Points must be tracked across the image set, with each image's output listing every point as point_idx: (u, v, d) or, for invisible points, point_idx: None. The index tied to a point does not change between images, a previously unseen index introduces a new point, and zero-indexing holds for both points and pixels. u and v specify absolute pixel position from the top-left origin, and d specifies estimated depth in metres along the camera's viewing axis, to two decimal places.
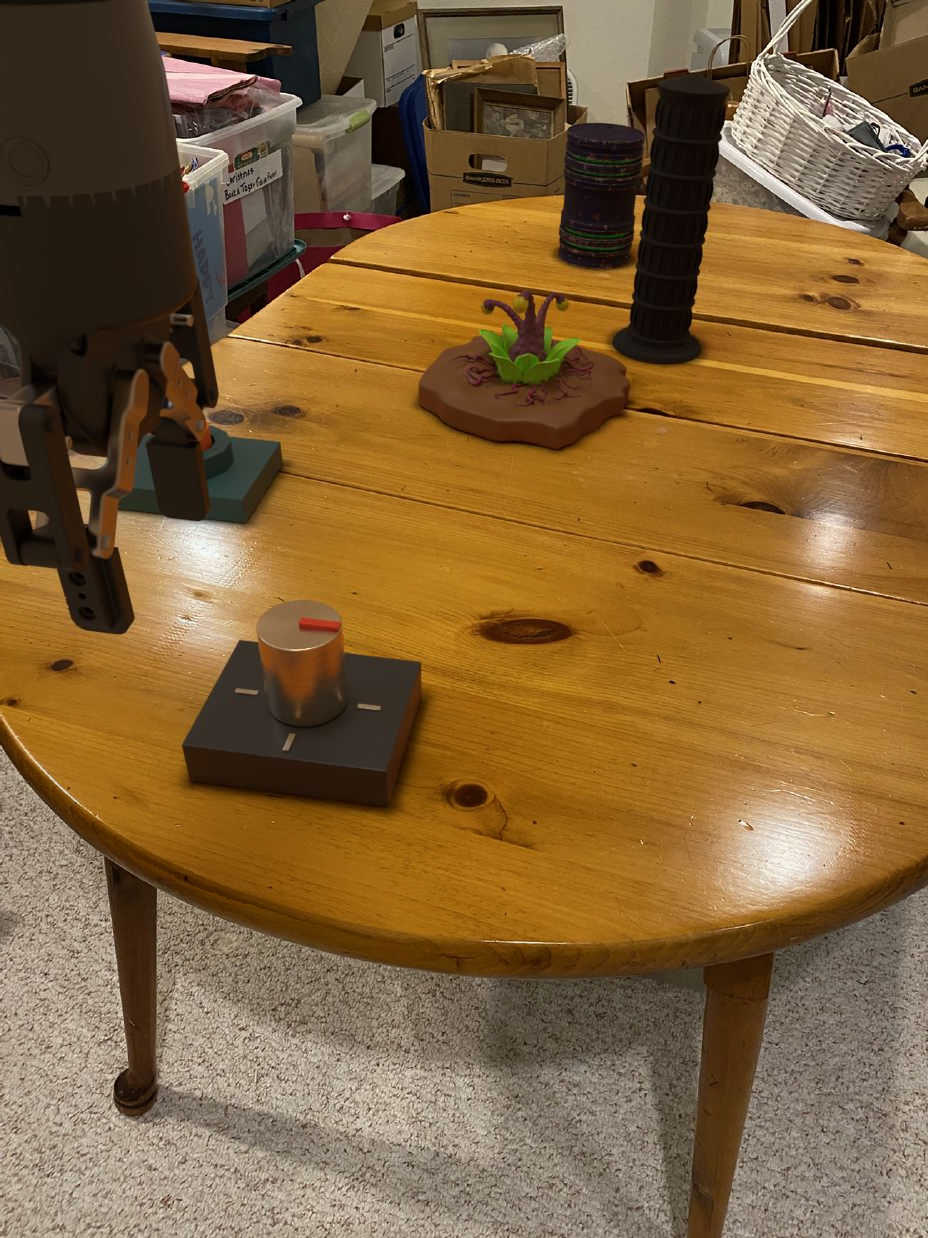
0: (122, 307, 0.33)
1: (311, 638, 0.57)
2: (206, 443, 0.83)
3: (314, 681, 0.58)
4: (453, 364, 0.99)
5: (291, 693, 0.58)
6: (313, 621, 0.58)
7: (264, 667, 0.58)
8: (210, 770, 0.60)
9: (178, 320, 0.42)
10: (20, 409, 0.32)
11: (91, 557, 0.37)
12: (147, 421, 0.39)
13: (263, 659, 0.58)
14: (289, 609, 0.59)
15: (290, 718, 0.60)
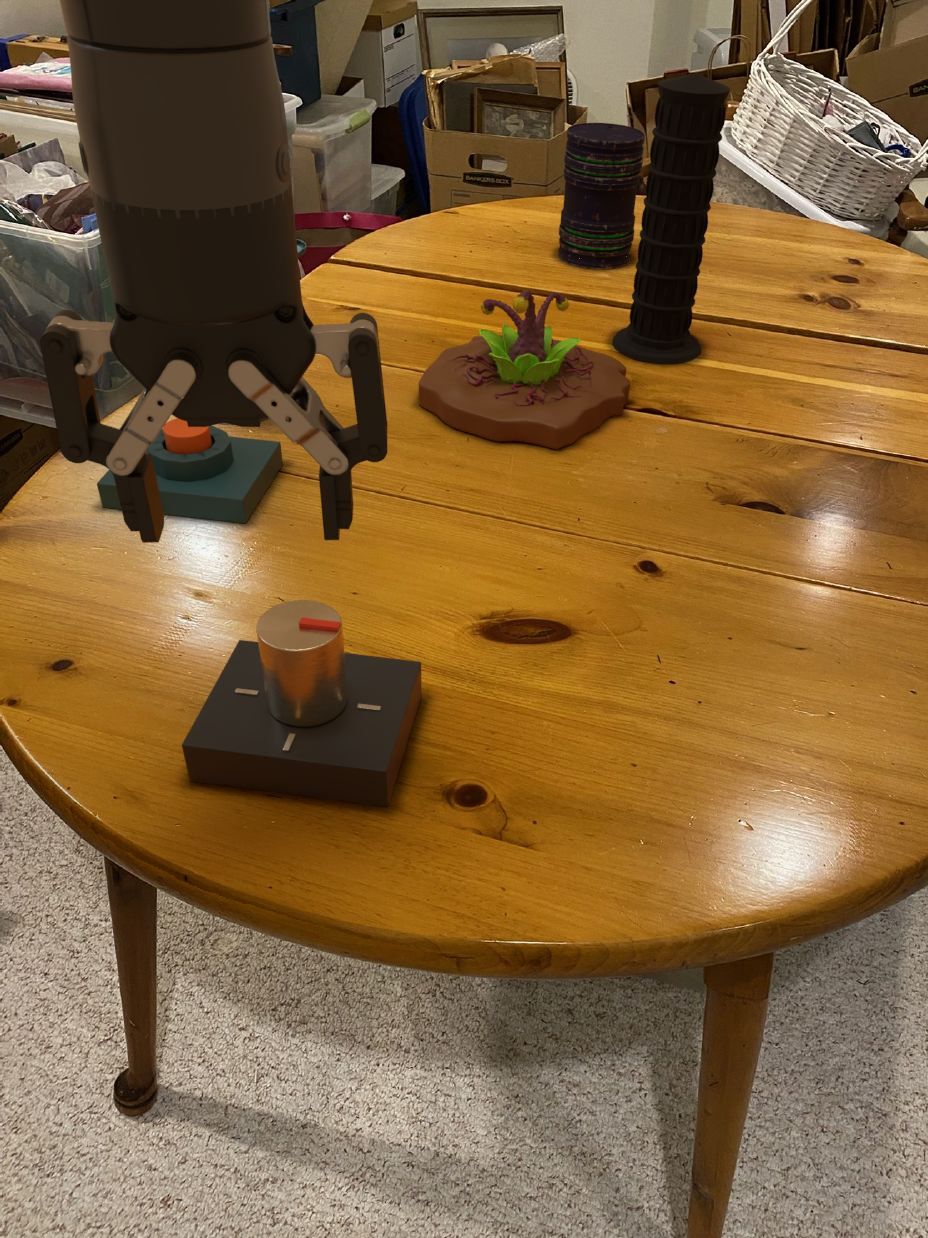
0: (124, 295, 0.39)
1: (311, 638, 0.57)
2: (206, 443, 0.83)
3: (314, 681, 0.58)
4: (453, 364, 0.99)
5: (291, 693, 0.58)
6: (313, 621, 0.58)
7: (264, 667, 0.58)
8: (210, 770, 0.60)
9: (340, 366, 0.44)
10: (50, 325, 0.42)
11: None
12: (227, 413, 0.45)
13: (263, 659, 0.58)
14: (289, 609, 0.59)
15: (290, 718, 0.60)
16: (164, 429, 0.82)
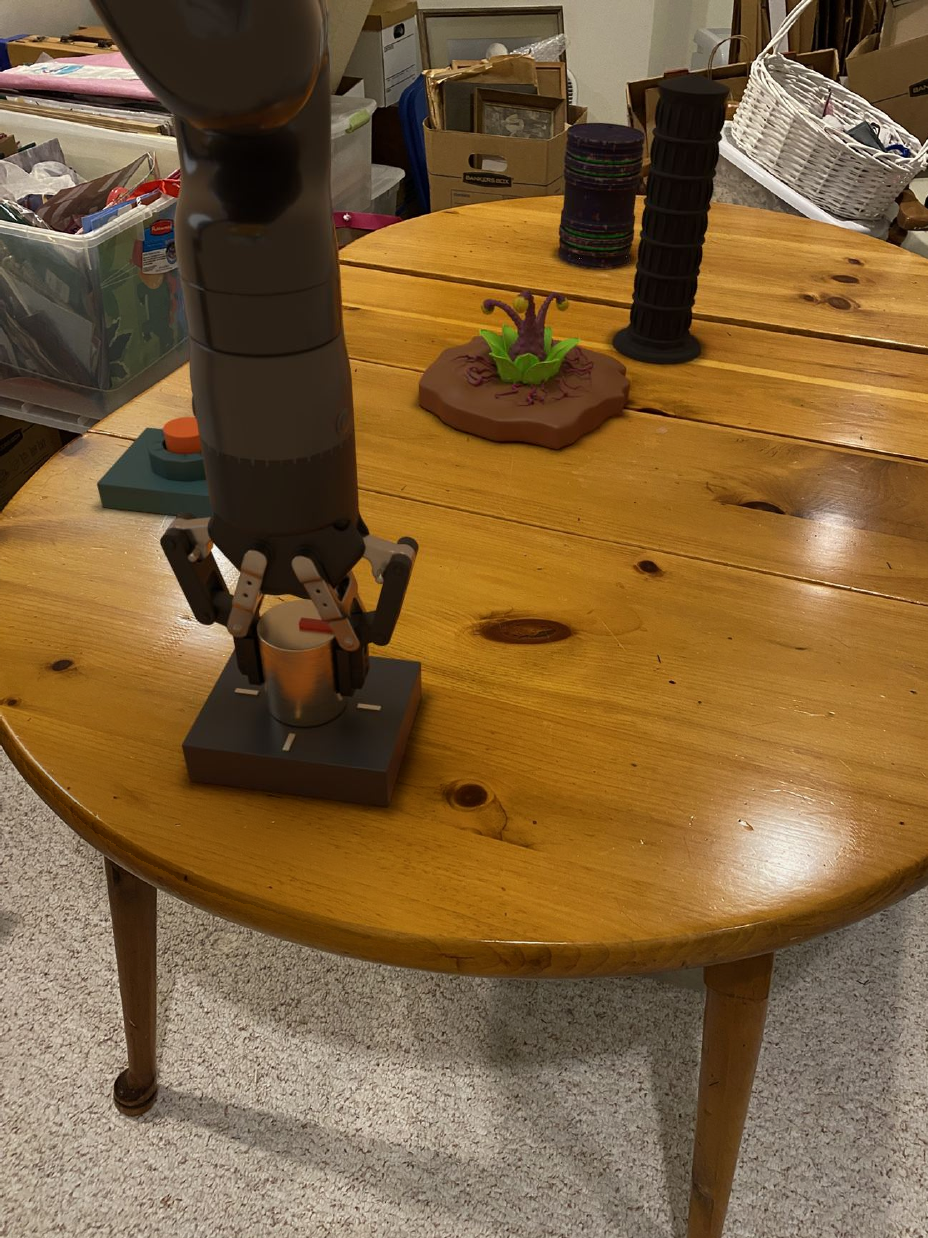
0: (214, 505, 0.51)
1: (311, 638, 0.57)
2: None
3: (314, 681, 0.58)
4: (453, 364, 0.99)
5: (291, 693, 0.58)
6: (313, 621, 0.58)
7: (264, 667, 0.58)
8: (210, 770, 0.60)
9: (377, 573, 0.54)
10: (167, 528, 0.55)
11: None
12: (292, 589, 0.55)
13: (263, 659, 0.58)
14: (289, 609, 0.59)
15: (290, 718, 0.60)
16: (164, 429, 0.82)
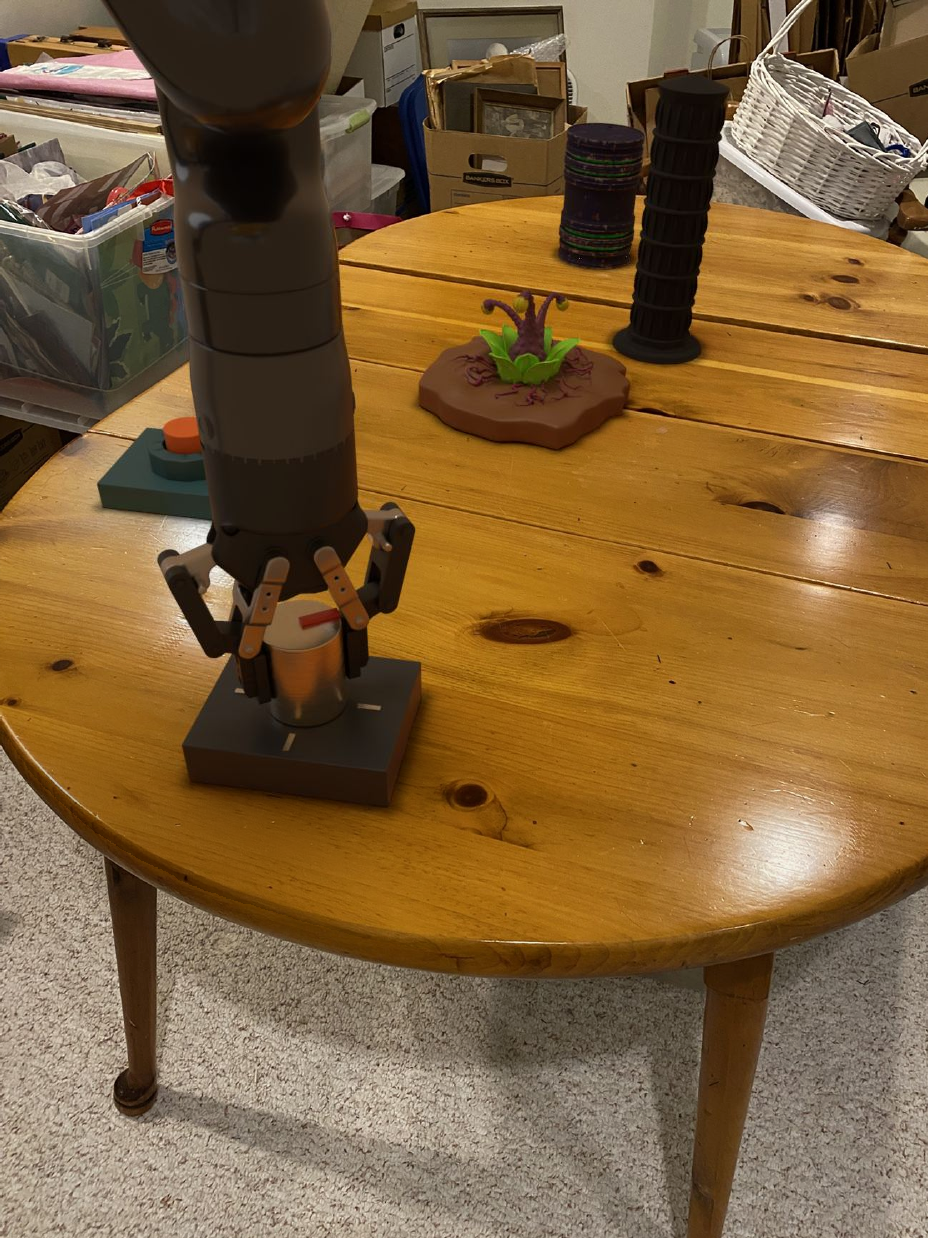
0: (245, 521, 0.50)
1: (323, 630, 0.58)
2: None
3: (335, 671, 0.59)
4: (453, 364, 0.99)
5: (317, 691, 0.59)
6: (312, 615, 0.58)
7: (282, 678, 0.58)
8: (210, 770, 0.60)
9: (381, 542, 0.56)
10: (167, 569, 0.52)
11: None
12: (304, 586, 0.55)
13: (281, 670, 0.57)
14: (276, 616, 0.59)
15: (315, 719, 0.60)
16: (164, 429, 0.82)
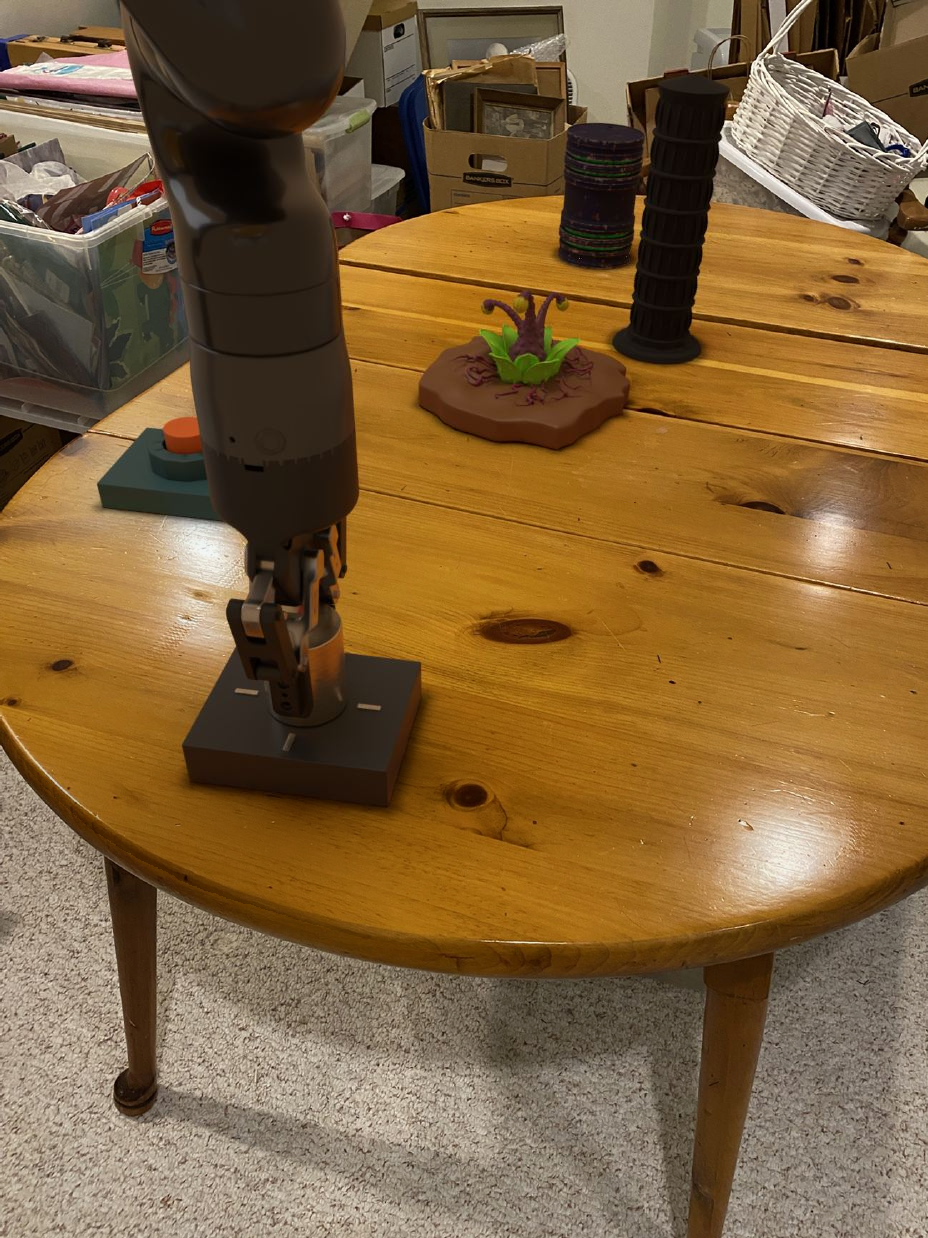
0: (319, 519, 0.50)
1: (323, 614, 0.59)
2: None
3: None
4: (453, 364, 0.99)
5: (344, 671, 0.60)
6: (301, 611, 0.59)
7: (323, 675, 0.58)
8: (210, 770, 0.60)
9: None
10: (259, 611, 0.49)
11: None
12: None
13: (323, 667, 0.58)
14: None
15: (344, 700, 0.61)
16: (164, 429, 0.82)
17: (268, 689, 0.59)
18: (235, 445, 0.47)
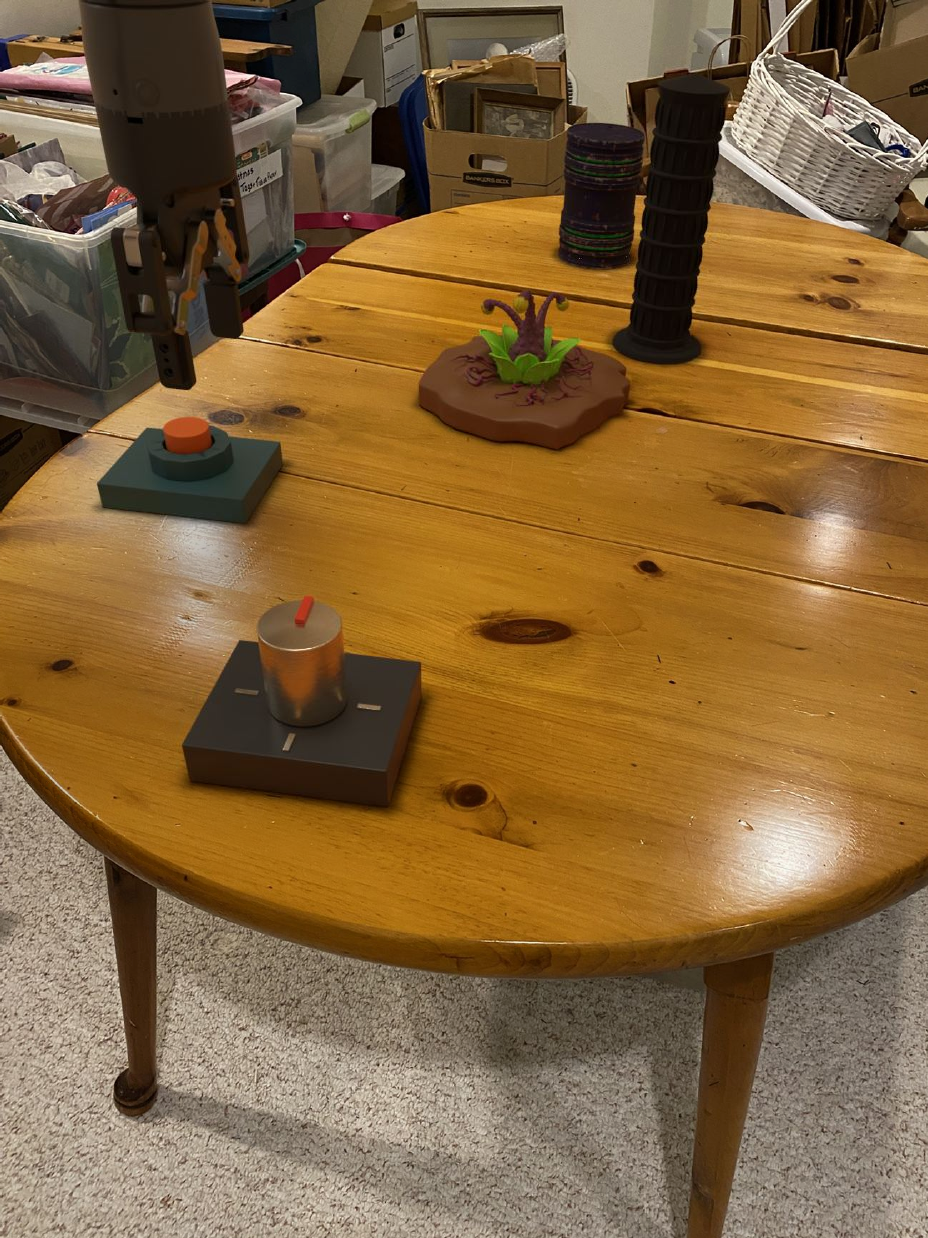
0: (195, 178, 0.59)
1: (323, 614, 0.59)
2: (206, 443, 0.83)
3: None
4: (453, 364, 0.99)
5: (344, 671, 0.60)
6: (301, 611, 0.59)
7: (323, 675, 0.58)
8: (210, 770, 0.60)
9: (224, 202, 0.68)
10: (139, 232, 0.58)
11: (173, 333, 0.63)
12: (206, 259, 0.65)
13: (322, 667, 0.58)
14: (274, 632, 0.57)
15: (344, 700, 0.61)
16: (164, 429, 0.82)
17: (268, 689, 0.59)
18: (118, 97, 0.56)
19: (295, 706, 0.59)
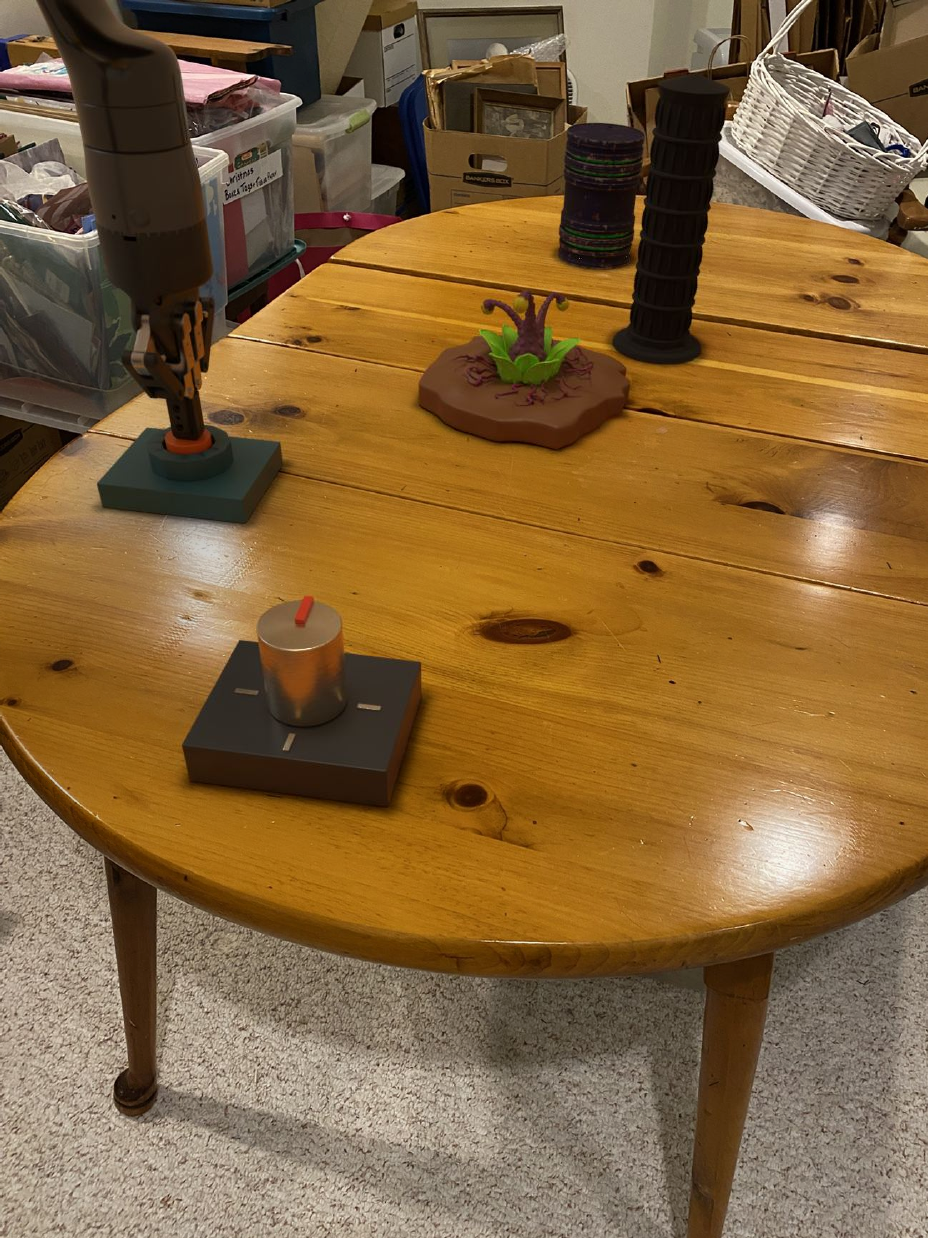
0: (179, 282, 0.72)
1: (323, 614, 0.59)
2: None
3: None
4: (453, 364, 0.99)
5: (344, 671, 0.60)
6: (301, 611, 0.59)
7: (323, 675, 0.58)
8: (210, 770, 0.60)
9: None
10: (143, 360, 0.73)
11: (183, 397, 0.80)
12: None
13: (322, 667, 0.58)
14: (274, 632, 0.57)
15: (344, 700, 0.61)
16: (166, 438, 0.83)
17: (268, 689, 0.59)
18: (116, 221, 0.69)
19: (295, 706, 0.59)
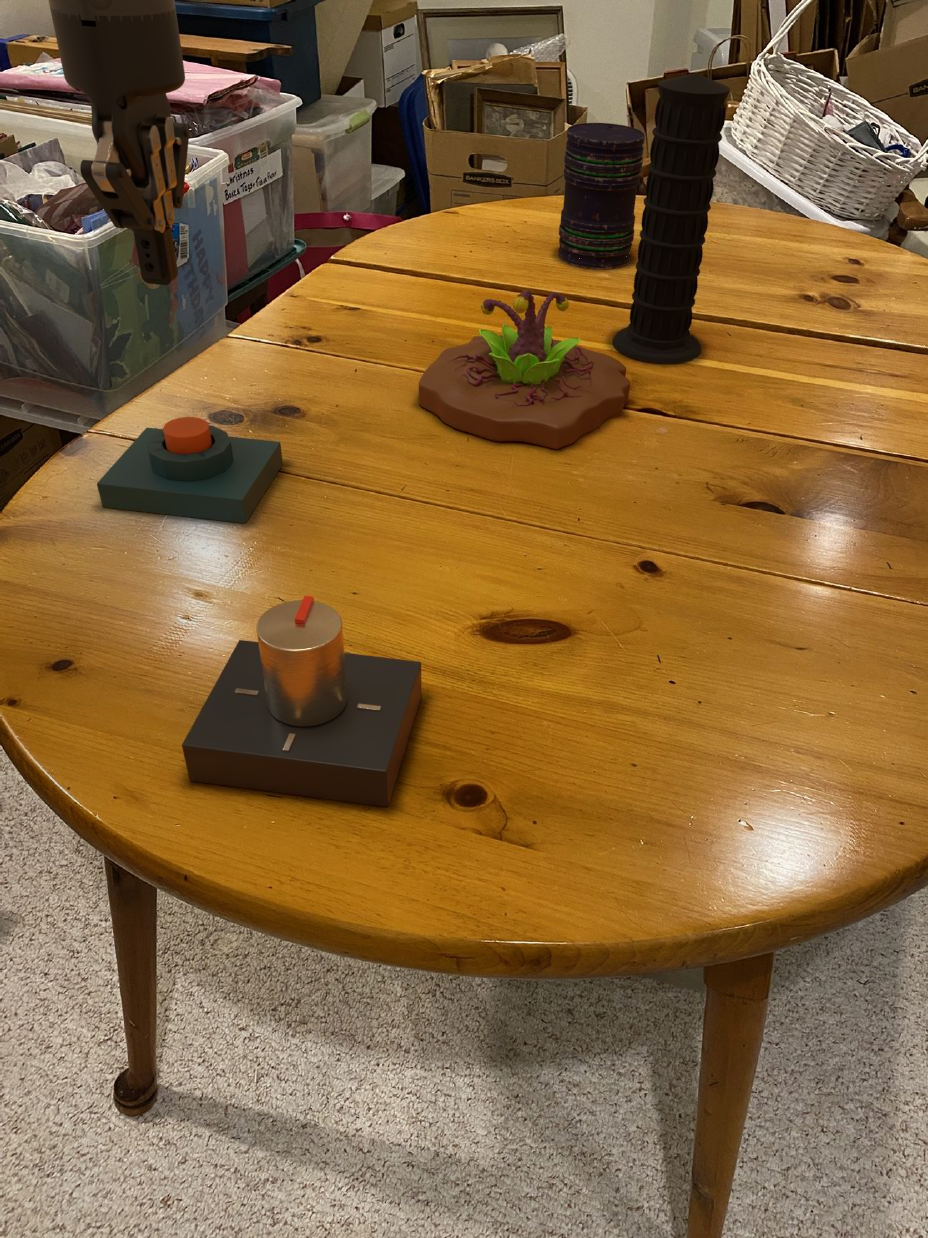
0: (145, 81, 0.64)
1: (323, 614, 0.59)
2: (206, 443, 0.83)
3: None
4: (453, 364, 0.99)
5: (344, 671, 0.60)
6: (301, 611, 0.59)
7: (323, 675, 0.58)
8: (210, 770, 0.60)
9: None
10: (105, 170, 0.65)
11: (153, 230, 0.72)
12: None
13: (322, 667, 0.58)
14: (274, 632, 0.57)
15: (344, 700, 0.61)
16: (164, 429, 0.82)
17: (268, 689, 0.59)
18: (72, 1, 0.61)
19: (295, 706, 0.59)
